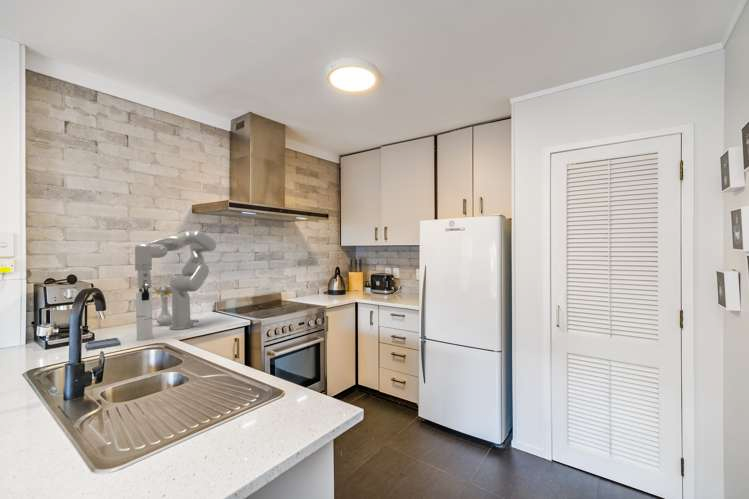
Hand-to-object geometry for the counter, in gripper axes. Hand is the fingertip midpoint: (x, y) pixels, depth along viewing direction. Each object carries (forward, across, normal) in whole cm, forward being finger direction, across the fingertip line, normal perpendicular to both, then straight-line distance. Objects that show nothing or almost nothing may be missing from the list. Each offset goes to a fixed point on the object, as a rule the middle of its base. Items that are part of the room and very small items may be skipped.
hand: (143, 299), depth 182 cm
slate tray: (+21, 0, +17) cm, 27 cm away
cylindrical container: (+21, 0, 0) cm, 21 cm away
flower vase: (+21, +32, -15) cm, 41 cm away
